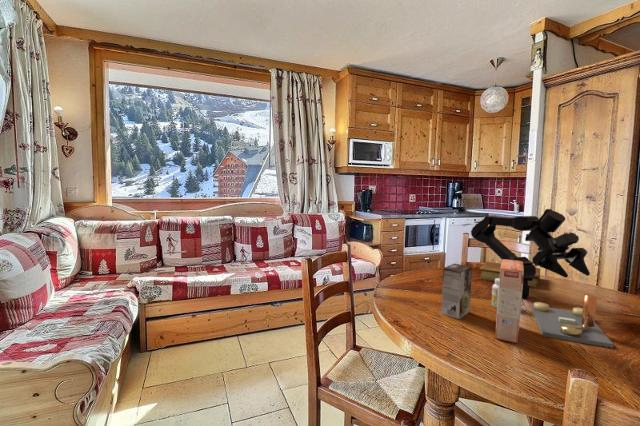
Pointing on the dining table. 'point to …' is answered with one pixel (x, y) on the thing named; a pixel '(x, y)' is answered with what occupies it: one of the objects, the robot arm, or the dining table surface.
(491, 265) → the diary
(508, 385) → the dining table surface
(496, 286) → the supplement bottle
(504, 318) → the cracker box
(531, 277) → the robot arm
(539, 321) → the base
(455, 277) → the coffee box
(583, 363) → the dining table surface
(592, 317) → the screw handle
